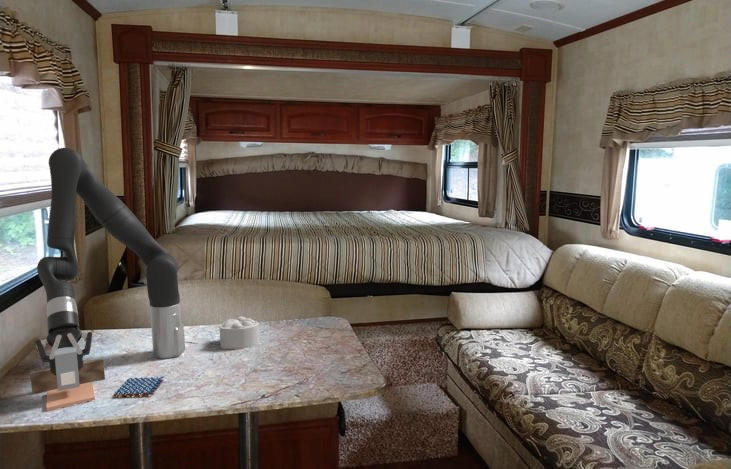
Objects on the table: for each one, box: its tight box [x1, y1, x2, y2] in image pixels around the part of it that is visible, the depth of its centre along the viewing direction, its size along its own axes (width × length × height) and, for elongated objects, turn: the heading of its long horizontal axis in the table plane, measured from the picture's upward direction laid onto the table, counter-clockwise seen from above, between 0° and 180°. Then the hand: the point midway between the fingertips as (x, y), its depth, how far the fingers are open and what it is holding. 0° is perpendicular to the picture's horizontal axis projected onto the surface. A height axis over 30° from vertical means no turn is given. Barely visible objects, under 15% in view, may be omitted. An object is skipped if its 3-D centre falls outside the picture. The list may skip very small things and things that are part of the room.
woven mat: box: [113, 376, 165, 399], centre depth 142 cm, size 10×11×2 cm
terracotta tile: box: [46, 382, 96, 412], centre depth 137 cm, size 11×11×1 cm
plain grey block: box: [55, 346, 80, 391], centre depth 136 cm, size 5×5×10 cm
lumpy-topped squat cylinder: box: [219, 316, 261, 350], centre depth 176 cm, size 10×13×9 cm
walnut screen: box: [29, 358, 106, 395], centre depth 144 cm, size 18×1×6 cm, turn 122°
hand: (67, 371), depth 135 cm, fingers closed on plain grey block, 5 cm apart
